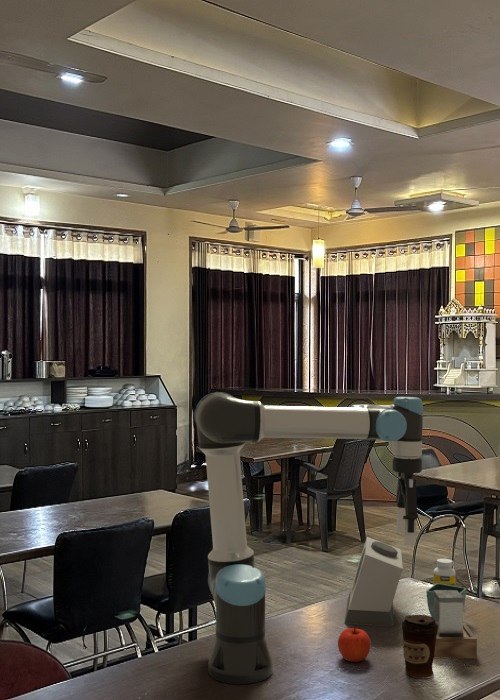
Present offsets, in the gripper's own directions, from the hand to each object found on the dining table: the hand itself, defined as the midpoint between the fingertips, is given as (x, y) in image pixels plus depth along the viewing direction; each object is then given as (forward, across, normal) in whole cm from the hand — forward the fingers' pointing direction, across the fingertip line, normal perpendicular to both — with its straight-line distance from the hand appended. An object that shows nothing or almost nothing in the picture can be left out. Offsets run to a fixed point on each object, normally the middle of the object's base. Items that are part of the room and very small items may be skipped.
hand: (405, 538), depth 204 cm
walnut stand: (+26, -6, -10) cm, 29 cm away
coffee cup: (+27, -21, 0) cm, 34 cm away
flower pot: (+26, +14, -14) cm, 33 cm away
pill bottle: (+26, +34, -17) cm, 46 cm away
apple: (+27, -13, +14) cm, 33 cm away
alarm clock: (+27, +21, +6) cm, 34 cm away
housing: (+22, -6, -10) cm, 25 cm away
